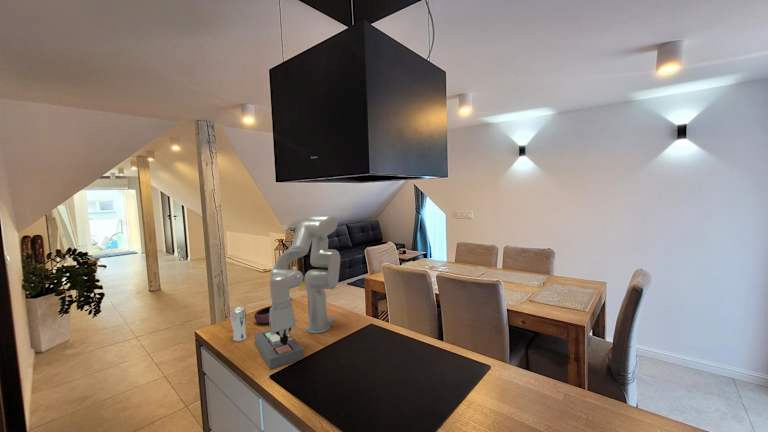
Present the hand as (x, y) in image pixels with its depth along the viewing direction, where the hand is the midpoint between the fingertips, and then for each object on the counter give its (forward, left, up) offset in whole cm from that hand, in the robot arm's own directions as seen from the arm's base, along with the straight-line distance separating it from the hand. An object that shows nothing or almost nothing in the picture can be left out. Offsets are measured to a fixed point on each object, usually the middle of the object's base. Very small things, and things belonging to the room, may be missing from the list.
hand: (284, 343), depth 138 cm
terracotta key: (+1, +1, -5) cm, 5 cm away
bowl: (-5, -45, -7) cm, 46 cm away
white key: (+1, -8, -4) cm, 9 cm away
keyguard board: (+1, -8, -7) cm, 11 cm away
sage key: (+1, -17, -5) cm, 18 cm away
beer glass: (+13, -32, -7) cm, 35 cm away
